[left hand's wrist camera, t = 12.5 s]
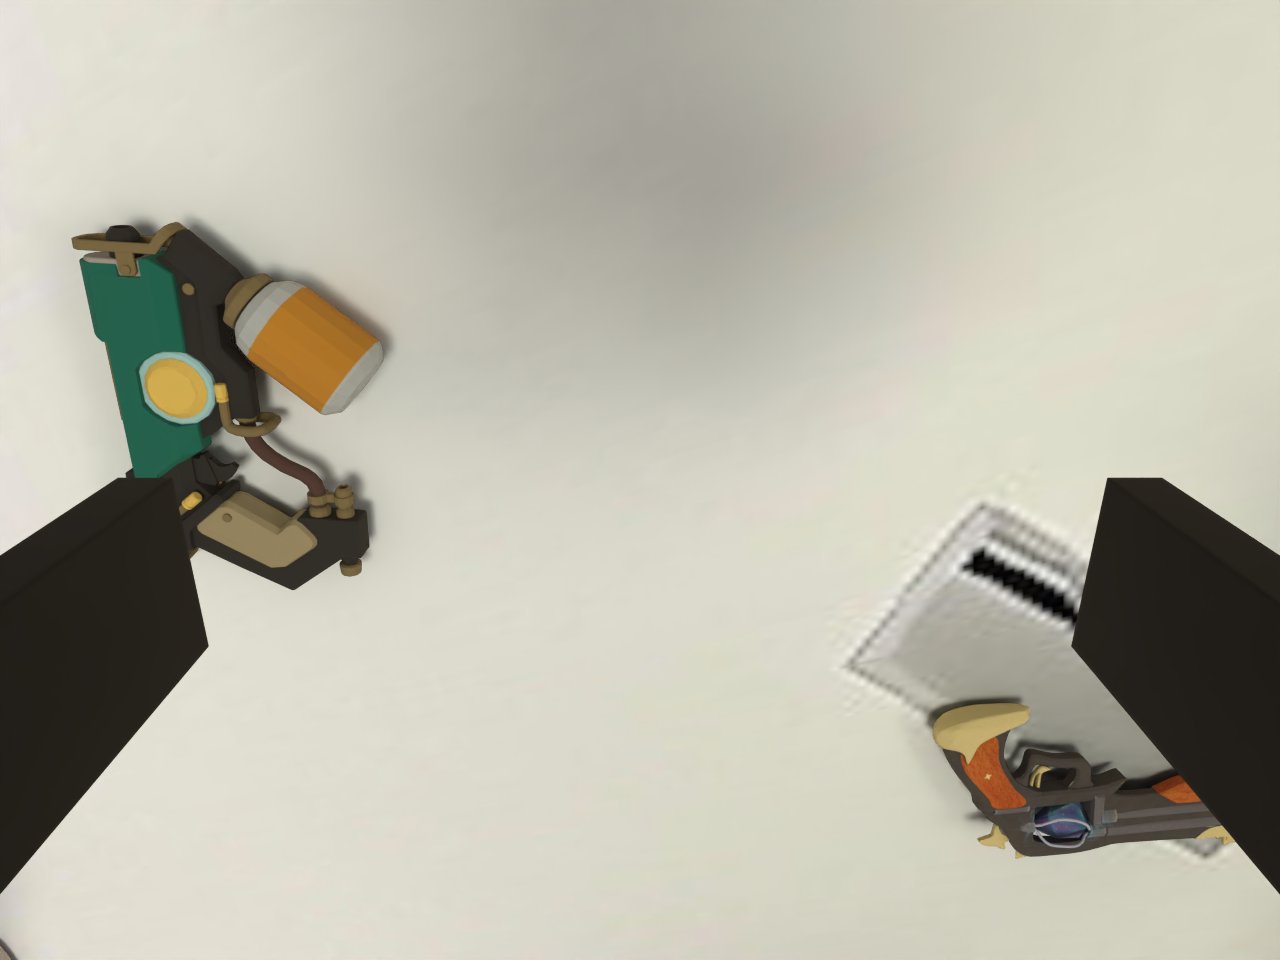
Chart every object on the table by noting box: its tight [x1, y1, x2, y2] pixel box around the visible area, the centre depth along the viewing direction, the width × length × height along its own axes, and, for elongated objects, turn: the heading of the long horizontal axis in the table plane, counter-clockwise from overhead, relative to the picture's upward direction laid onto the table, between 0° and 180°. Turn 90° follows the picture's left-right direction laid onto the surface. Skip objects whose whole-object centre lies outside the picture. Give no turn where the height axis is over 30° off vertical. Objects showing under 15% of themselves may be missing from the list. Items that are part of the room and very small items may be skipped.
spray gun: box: [71, 222, 383, 590], centre depth 41 cm, size 4×17×15 cm
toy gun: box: [933, 703, 1235, 858], centre depth 50 cm, size 3×19×10 cm
